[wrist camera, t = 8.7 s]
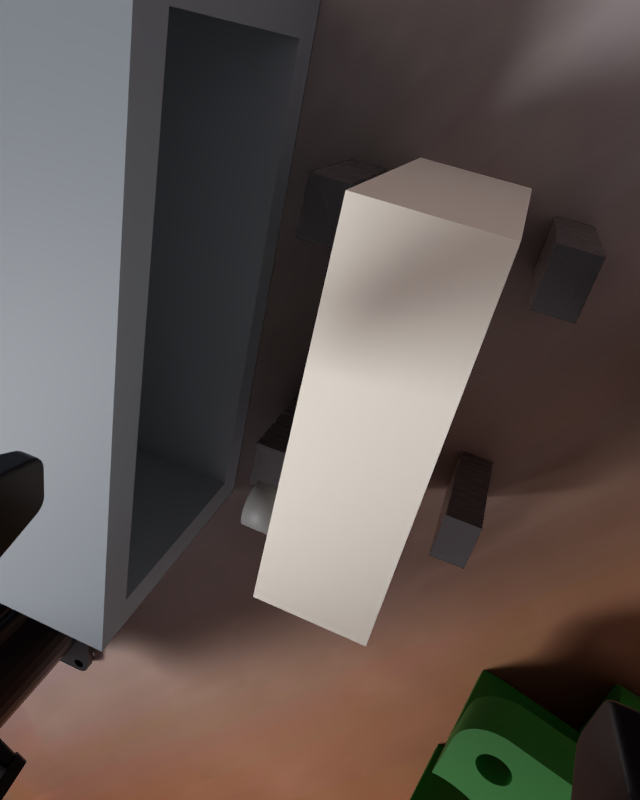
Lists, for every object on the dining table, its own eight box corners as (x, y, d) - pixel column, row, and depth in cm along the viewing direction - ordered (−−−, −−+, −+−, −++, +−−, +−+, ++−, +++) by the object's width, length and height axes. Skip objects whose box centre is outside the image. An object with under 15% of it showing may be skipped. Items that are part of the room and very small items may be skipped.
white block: (385, 147, 16) (291, 173, 10) (532, 188, 16) (520, 241, 10) (310, 447, 21) (217, 580, 15) (419, 488, 21) (365, 646, 15)
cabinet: (233, 490, 23) (101, 651, 16) (55, 418, 25) (-133, 539, 18) (321, -4, 15) (137, -88, 8) (51, -65, 17) (-289, -179, 10)
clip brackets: (476, 498, 20) (463, 569, 17) (291, 429, 21) (248, 483, 18) (595, 227, 15) (605, 257, 12) (351, 159, 17) (308, 172, 14)
